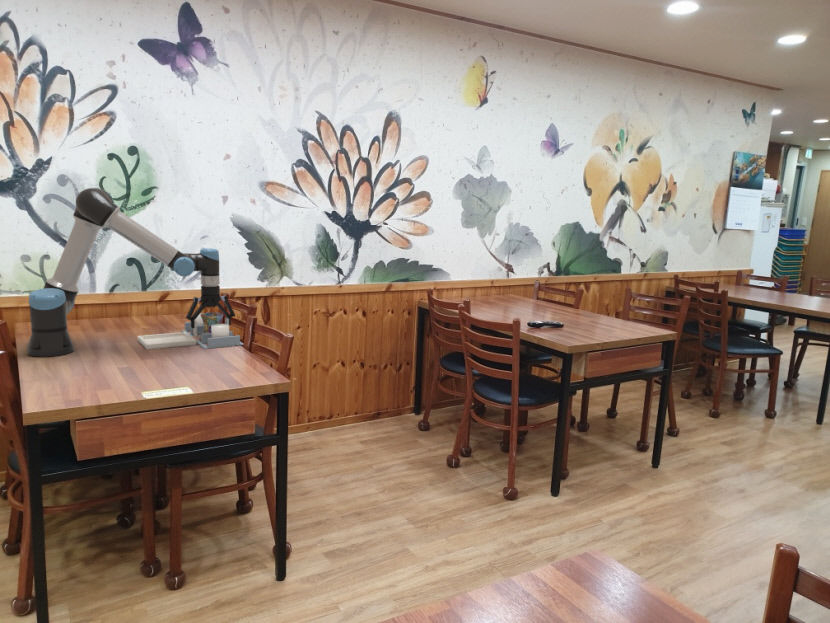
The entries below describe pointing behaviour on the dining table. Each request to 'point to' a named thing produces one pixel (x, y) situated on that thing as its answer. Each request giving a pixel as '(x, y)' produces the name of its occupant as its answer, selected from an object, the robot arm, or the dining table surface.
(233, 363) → the dining table surface
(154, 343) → the tray
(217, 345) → the rack
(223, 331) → the white rounded egg
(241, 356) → the dining table surface
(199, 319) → the white glossy dome
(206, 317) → the mug
